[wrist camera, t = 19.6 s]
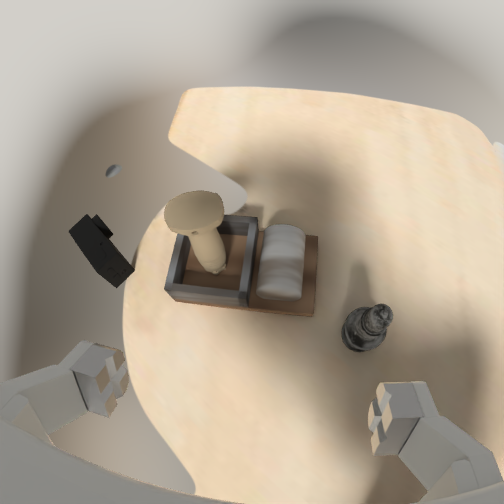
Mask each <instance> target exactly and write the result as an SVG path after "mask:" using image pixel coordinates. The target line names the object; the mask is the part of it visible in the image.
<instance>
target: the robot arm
mask: <svg viewBox="0 0 504 504" xmlns="http://www.w3.org/2000/svg"><path fill="white" fill-rule="evenodd" d="M124 361H125V357H124V354H123V352H122V351H121V350H118V349H115V348H111V347H107V346H104V345H100V344H97V343H92V342H89V341H86V340H84V341H81V342H80V343H79V344H78V345H77V346H76V347H75V348H74V349H73V350H72V351H71V352H70V353H69V354H68V355H67V356H66V357H65V358H64V359H63V360H62V361H61V362H60V364H59V365H58V366H57V365H51V366H49V367H46V368H43V369H40V370H37V371H35V372H32V373H29V374H26V375H23V376H20V377H17V378H14V379H11V380H8V381H5V382H2V383H1V384H0V504H242V503H235V502H228V501H223V500H217V499H212V498H206V497H201V496H197V495H192V494H188V493H183V492H179V491H175V490H171V489H168V488H164V487H160V486H157V485H153V484H150V483H147V482H143V481H140V480H137V479H134V478H131V477H128V476H125V475H122V474H119V473H117V472H114V471H111V470H108V469H106V468H103V467H101V466H98V465H96V464H93V463H91V462H88V461H86V460H84V459H81V458H79V457H77V456H75V455H72V454H70V453H68V452H66V451H64V450H62V449H60V448H57V447H55V446H54V444H53V443H52V441H51V440H50V438H49V436H48V435H49V434H51V433H53V432H54V431H56V430H58V429H60V428H61V427H63V426H65V425H66V424H68V423H70V422H72V421H74V420H75V419H77V418H79V417H80V416H82V415H84V414H86V413H87V412H88V411H90V412H93V413H96V414H99V415H102V416H105V417H110V416H111V414H112V412H113V411H114V409H115V407H116V406H117V400H116V399H117V398H119V397H122V396H123V395H124V393H125V392H126V390H127V387H128V383H129V375H128V370H127V369H126V368H125V367H124V365H123V362H124ZM376 395H377V398H376V399H374V400H373V401H372V402H371V405H370V408H369V413H368V427H369V430H371V431H372V432H373V435H372V437H371V446H372V452H373V456H379V455H398V457H399V458H400V459H401V460H402V462H403V463H404V464H405V465H406V466H407V467H408V469H409V470H410V471H411V472H412V473H413V474H414V476H415V477H416V478H417V479H418V480H419V481H420V483H421V484H422V485H423V486H424V487H425V488H426V489H427V491H428V492H427V493H426V494H425V495H424V496H423V497H422V498H421V499H420V501H419V502H416V503H410V504H504V481H503V479H502V476H501V473H500V471H499V468H498V465H497V463H496V460H495V458H494V455H493V453H492V452H491V451H490V450H489V449H487V448H486V447H484V446H483V445H482V444H480V443H479V442H478V441H476V440H475V439H474V438H472V437H471V436H470V435H468V434H467V433H466V432H464V431H463V430H462V429H460V428H459V427H458V426H457V425H455V424H454V423H453V422H451V421H450V420H449V419H447V418H446V417H445V416H440V415H439V413H438V410H437V408H436V405H435V403H434V400H433V398H432V395H431V393H430V391H429V388H428V386H427V383H426V382H425V381H411V382H380V384H379V385H378V387H377V389H376Z"/></svg>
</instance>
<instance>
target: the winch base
mask: <svg viewBox="0 0 504 504" xmlns="http://www.w3.org/2000/svg"><path fill="white" fill-rule="evenodd" d="M216 228H217V231H218V233H219V235H220V237H221V239H222V241H223V244H224V247H225V252H226V262H225V263H226V269H225V270H222V271H221V272H220V273H219V274H218V275H214V274H213V273H212V272H207V271H206V270H205V269H204V267H203V266H202V265H201V264H200V262H199V261H198V259H197V257H196V255H195V253H194V251H193V248H192V245H191V242H190V240H189V237H188V236H186V235H181V234H177V238H176V242H175V246H174V250H173V254H172V258H171V262H170V266H169V270H168V275H167V279H166V283H165V288H164V290H165V291H166V292H167V293H168V294H169V295H170V296H171V297H172V298H173V299H174V300H175V301H177V302H184V303H192V304H199V305H207V306H215V307H223V308H232V309H240V310H249V311H259V312H268V313H279V314H289V315H300V316H313V314H314V301H315V285H316V268H317V247H318V236H309V235H305V233H304V231H302V230H301V229H300V228H298V227H295V226H292V225H286V224H277V225H272V226H269V227H267V228H266V229H265V230H264V232H263V231H259V229H258V218H257V217H246V216H232V215H224V218H223V221H222V223H221V224H220V225H219V226H218V227H216Z"/></svg>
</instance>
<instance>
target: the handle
mask: <svg viewBox="0 0 504 504" xmlns="http://www.w3.org/2000/svg"><path fill="white" fill-rule="evenodd" d="M164 218H165V222H166V224H167V225H168V227H169V229H170V230H171V231H172V232H175V233H178V234H181V235H186V236H188V237H189V240H190V242H191V245H192V248H193V251H194V253H195V255H196V257H197V259H198V261H199V262H200V264H201V265H202V266H203V267H204V269H205V270H206V271H207V272H212V273H213V274H214V275H218V274H219V273H220V272H221V271H222V270H225V269H226V263H225V262H226V252H225V247H224V244H223V241H222V239H221V237H220V235H219V233H218V231H217V228H216V227H218V226H219V225H220V224H221V223H222V221H223V218H224V207H223V202H222V199H221V197H220V196H219V195H218V194H216V193H212V192H208V191H193V192H187V193H183V194H181V195H179V196H177V197H175V198H173V199H172V200H170V201H169V202H168V203H167V205H166V207H165V211H164Z"/></svg>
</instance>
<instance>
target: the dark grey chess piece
mask: <svg viewBox="0 0 504 504" xmlns="http://www.w3.org/2000/svg"><path fill="white" fill-rule="evenodd" d="M392 319H393V313H392V310H391V309H390V307H389V306H387V305H385V304H378V305H375V306H374V307H372V308H369V307H361V308H358V309H356V310H354V311H353V312H351V314H350V315H349V316H348V318H347V320H346V322H345V324H344V326H343V328H342V339H343V342H344V343H345V345H346V346H347V347H348V348H349V349H351V350H353V351H357V352H361V351H365V350H371V349H374V348H376V347H377V346H379V345H380V344H381V343H382V341H383V340H384V338H385V335H386V330H387V327H388V326H389V325H390V323H391V322H392Z"/></svg>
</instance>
